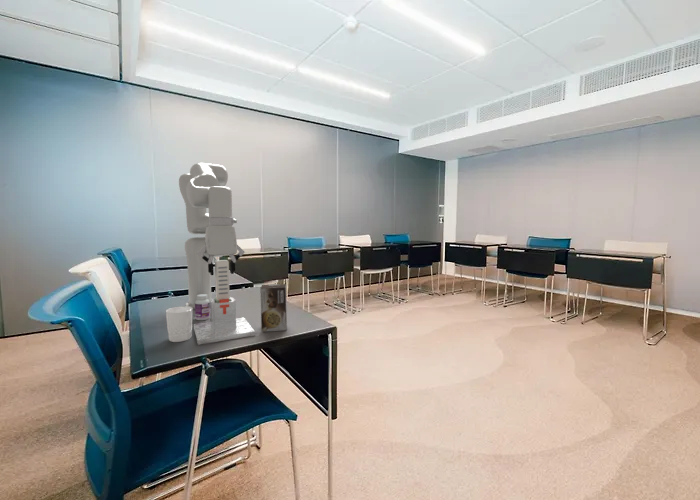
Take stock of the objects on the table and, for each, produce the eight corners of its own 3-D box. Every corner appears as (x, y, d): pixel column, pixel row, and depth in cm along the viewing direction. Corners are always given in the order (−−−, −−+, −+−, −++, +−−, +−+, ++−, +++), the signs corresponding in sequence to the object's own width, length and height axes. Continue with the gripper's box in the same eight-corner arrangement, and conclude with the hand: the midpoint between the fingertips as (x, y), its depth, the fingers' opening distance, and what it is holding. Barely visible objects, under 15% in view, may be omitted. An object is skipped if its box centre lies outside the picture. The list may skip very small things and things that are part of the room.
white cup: (165, 344, 102) (164, 313, 101) (168, 336, 109) (167, 307, 108) (192, 341, 105) (191, 311, 104) (194, 333, 113) (193, 305, 112)
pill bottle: (204, 321, 126) (203, 297, 125) (192, 320, 127) (191, 296, 126) (212, 317, 131) (212, 294, 130) (201, 316, 132) (200, 293, 131)
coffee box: (287, 325, 122) (286, 283, 121) (286, 330, 116) (286, 287, 115) (262, 326, 121) (261, 284, 119) (260, 332, 115) (260, 287, 113)
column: (215, 310, 114) (213, 260, 113) (228, 308, 117) (227, 259, 115) (217, 313, 111) (215, 262, 109) (230, 311, 113) (229, 261, 111)
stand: (193, 328, 118) (192, 294, 117) (244, 321, 127) (243, 290, 125) (197, 344, 102) (196, 306, 101) (254, 335, 111) (254, 300, 110)
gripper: (244, 222, 118) (245, 270, 120) (192, 222, 110) (194, 274, 111) (248, 223, 112) (249, 273, 113) (193, 222, 103) (195, 277, 105)
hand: (222, 273), depth 112 cm, fingers open, 6 cm apart
